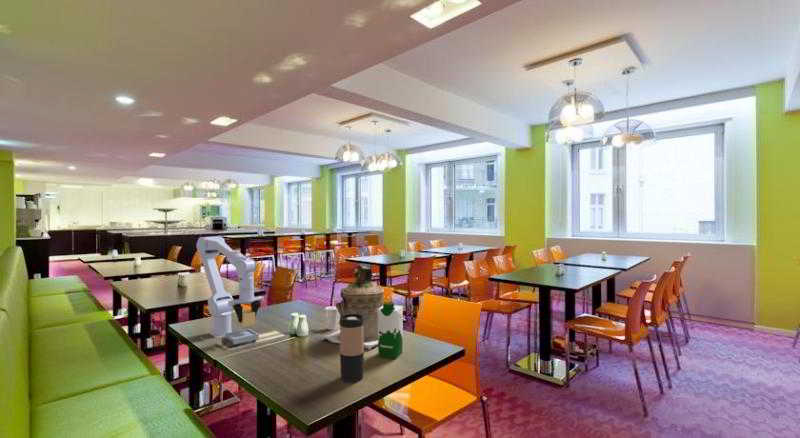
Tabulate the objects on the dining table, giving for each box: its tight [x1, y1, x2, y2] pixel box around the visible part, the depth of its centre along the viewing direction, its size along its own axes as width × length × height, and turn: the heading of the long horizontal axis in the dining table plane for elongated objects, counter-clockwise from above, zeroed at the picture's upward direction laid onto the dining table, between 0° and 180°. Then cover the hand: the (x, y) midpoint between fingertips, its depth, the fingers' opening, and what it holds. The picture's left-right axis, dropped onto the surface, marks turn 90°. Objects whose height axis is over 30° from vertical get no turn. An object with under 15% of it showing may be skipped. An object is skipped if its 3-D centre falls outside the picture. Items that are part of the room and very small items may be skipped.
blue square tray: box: [224, 328, 259, 347], centre depth 162 cm, size 10×10×3 cm
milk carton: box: [377, 301, 404, 360], centre depth 148 cm, size 9×9×20 cm
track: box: [216, 329, 288, 352], centre depth 165 cm, size 13×25×2 cm, turn 133°
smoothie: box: [324, 298, 339, 331], centre depth 181 cm, size 6×6×14 cm
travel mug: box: [339, 314, 365, 384], centre depth 127 cm, size 8×8×20 cm
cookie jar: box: [322, 264, 385, 351], centre depth 168 cm, size 25×25×32 cm
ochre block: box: [238, 310, 256, 328], centre depth 165 cm, size 5×5×5 cm
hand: (246, 320), depth 165 cm, fingers closed on ochre block, 5 cm apart
